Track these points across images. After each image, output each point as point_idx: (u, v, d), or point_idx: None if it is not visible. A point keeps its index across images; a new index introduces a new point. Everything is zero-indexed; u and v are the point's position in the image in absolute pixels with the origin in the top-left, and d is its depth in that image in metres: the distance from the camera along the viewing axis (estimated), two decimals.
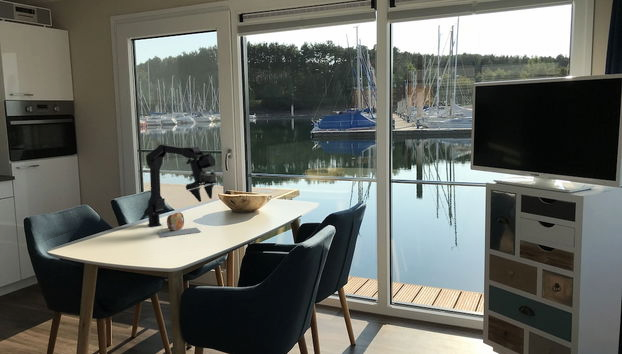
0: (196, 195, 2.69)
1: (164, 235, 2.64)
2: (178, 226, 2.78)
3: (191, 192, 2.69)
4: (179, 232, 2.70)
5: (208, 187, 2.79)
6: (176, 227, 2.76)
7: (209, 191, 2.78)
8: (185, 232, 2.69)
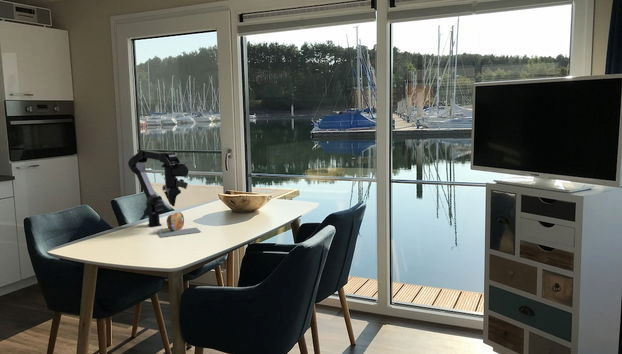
0: (172, 200, 2.77)
1: (164, 235, 2.64)
2: (178, 226, 2.78)
3: (169, 196, 2.76)
4: (179, 232, 2.70)
5: None
6: (176, 227, 2.76)
7: None
8: (185, 232, 2.69)
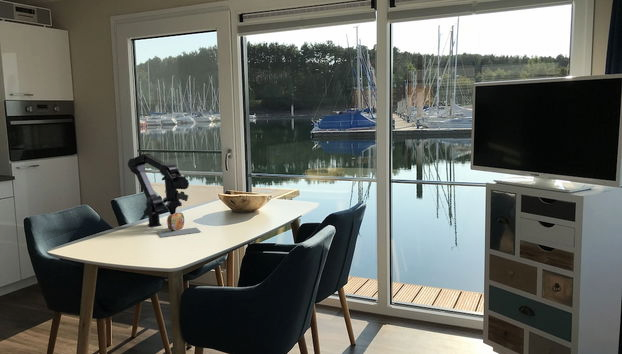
0: (172, 211, 2.81)
1: (164, 235, 2.64)
2: (178, 226, 2.78)
3: (168, 208, 2.79)
4: (179, 232, 2.70)
5: None
6: (176, 227, 2.76)
7: None
8: (185, 232, 2.69)
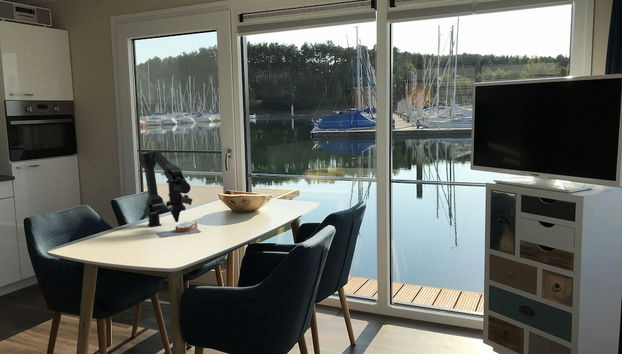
0: (176, 215, 2.73)
1: (164, 235, 2.64)
2: None
3: (172, 212, 2.71)
4: None
5: None
6: None
7: None
8: (185, 232, 2.69)
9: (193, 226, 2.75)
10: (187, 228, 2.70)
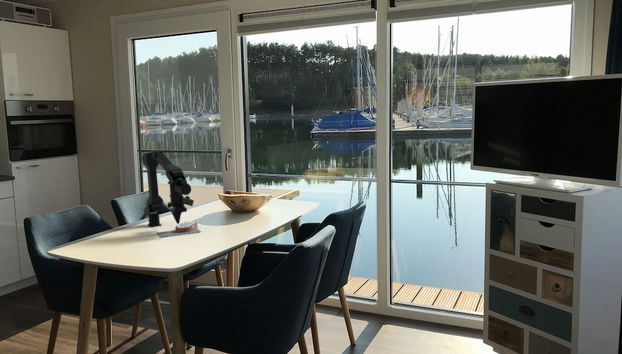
0: (177, 217, 2.70)
1: (164, 235, 2.64)
2: None
3: (173, 213, 2.68)
4: None
5: None
6: None
7: None
8: (185, 232, 2.69)
9: (193, 226, 2.75)
10: (187, 228, 2.70)
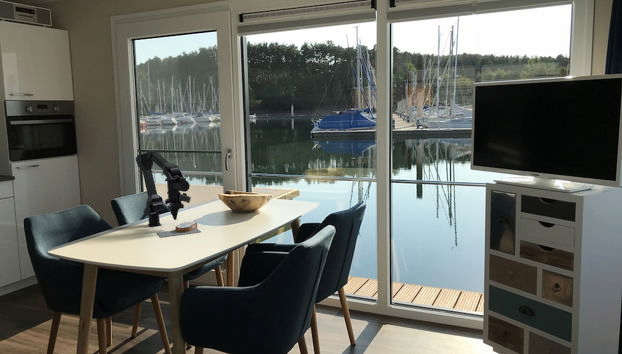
0: (174, 213, 2.76)
1: (164, 235, 2.64)
2: None
3: (170, 210, 2.74)
4: None
5: None
6: None
7: None
8: (185, 232, 2.69)
9: (193, 226, 2.75)
10: (187, 228, 2.70)
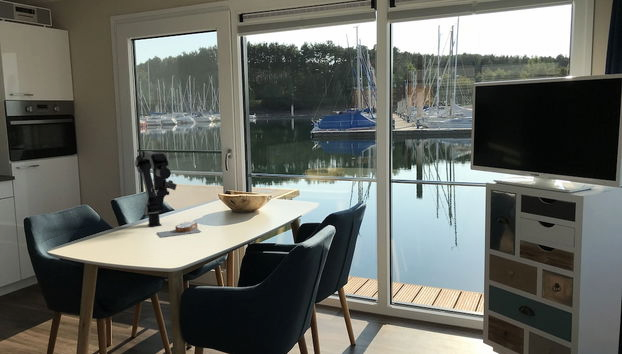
0: (160, 200, 2.76)
1: (164, 235, 2.64)
2: None
3: (156, 197, 2.74)
4: None
5: None
6: None
7: None
8: (185, 232, 2.69)
9: (193, 226, 2.75)
10: (187, 228, 2.70)
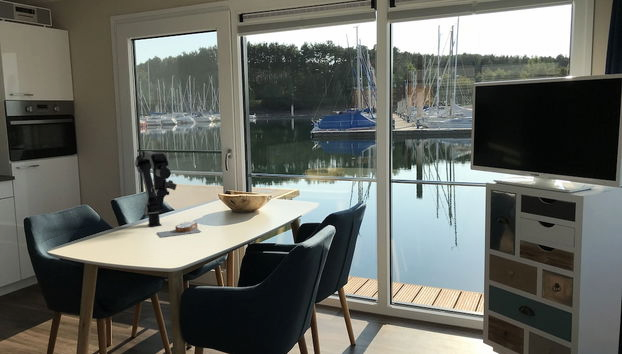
0: (160, 200, 2.76)
1: (164, 235, 2.64)
2: None
3: (156, 197, 2.74)
4: None
5: None
6: None
7: None
8: (185, 232, 2.69)
9: (193, 226, 2.75)
10: (187, 228, 2.70)
